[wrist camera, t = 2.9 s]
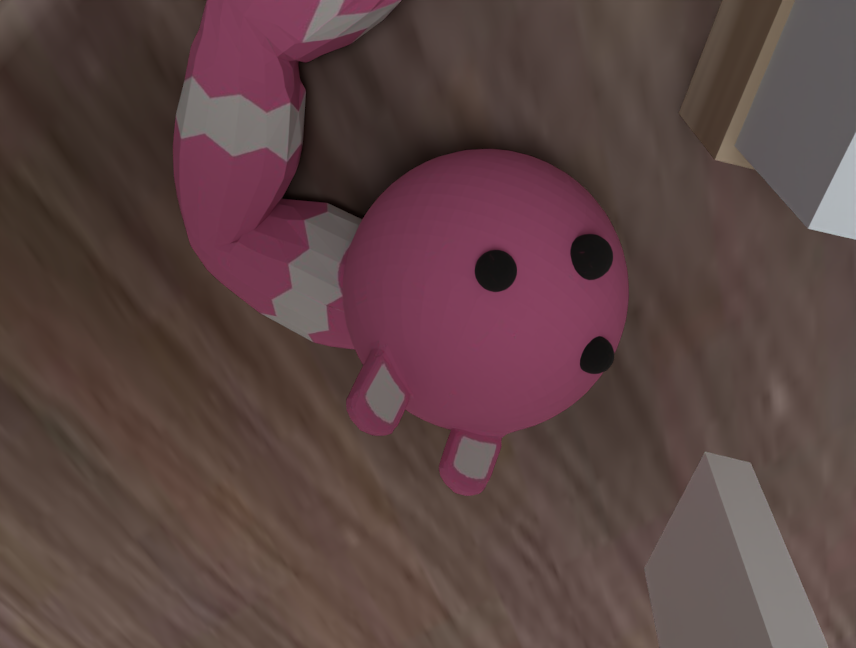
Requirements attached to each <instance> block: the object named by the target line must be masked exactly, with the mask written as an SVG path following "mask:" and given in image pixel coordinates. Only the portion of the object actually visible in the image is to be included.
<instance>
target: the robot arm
mask: <svg viewBox="0 0 856 648" xmlns="http://www.w3.org/2000/svg"><path fill="white" fill-rule="evenodd" d="M644 570H645V575H646V581H647V586H648V591H649V596H650V601H651V606H652V612H653V617H654V622H655V627H656V632H657V637H658V643H659V648H829V647H828V645H827V642H826V640H825V638H824V635H823V633H822V631H821V628H820V626H819V624H818V621H817V619H816V616H815V614H814V612H813V609H812V607H811V605H810V602H809V600H808V597H807V595H806V593H805V590H804V588H803V586H802V583H801V581H800V579H799V576H798V574H797V571H796V569H795V567H794V564H793V562H792V560H791V557H790V555H789V553H788V550H787V548H786V545H785V543H784V541H783V538H782V536H781V534H780V531H779V529H778V526H777V524H776V522H775V519H774V517H773V515H772V512H771V510H770V508H769V505H768V503H767V500H766V498H765V496H764V493H763V491H762V489H761V486H760V484H759V481H758V479H757V477H756V474H755V472H754V470H753V467H752V465H751V463H750V462H746V461H742V460H737V459H733V458H729V457H725V456H721V455H717V454H713V453H709V452H704V454H703V456H702V458H701V460H700V462H699V464H698V466H697V468H696V470H695V472H694V474H693V475H692V477H691V479H690V481H689V483H688V485H687V487H686V489H685V491H684V493H683V495H682V497H681V498H680V500H679V502H678V504H677V506H676V508H675V510H674V512H673V514H672V516H671V518H670V520H669V522H668V523H667V525H666V527H665V529H664V531H663V533H662V535H661V537H660V539H659V541H658V543H657V545H656V546H655V548H654V550H653V552H652V554H651V556H650V558H649V560H648V562H647V564H646V566H645V568H644Z"/></svg>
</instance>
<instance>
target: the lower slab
mask: <svg viewBox="0 0 856 648" xmlns="http://www.w3.org/2000/svg"><path fill="white" fill-rule="evenodd" d="M794 2H795V0H722V2H721V5H720V7H719V10H718V13H717V15H716V18H715V20H714V23H713V26H712V28H711V31H710V33H709V36H708V38H707V41H706V44H705V46H704V49H703V51H702V54H701V57H700V59H699V62H698V64H697V67H696V70H695V72H694V75H693V77H692V80H691V82H690V85H689V88H688V90H687V93H686V95H685V98H684V101H683V103H682V106H681V108H680V111H679V114H680V116H681V117H682V118H683V120H684V121H685V122H686V123H687V125H688V126H689V127H690V129H691V130H692V131H693V132H694V134H695V135H696V136H697V138H698V139H699V140H700V141H701V143H702V144H703V145H704V147H705V148H706V149H707V151H708V152H709V153H710V154H711V156H712V157H713V158H714V160H717V161H721V162H725V163H730V164H734V165H738V166H742V167H746V168H750V169H754V167H753V166H752V165H751V164H750V163H749V162H748V161H747V160H746V158H745V157H744V156H743V155H742V154H741V153H740V152H739V151H738V149H737V148H736V147H735V146H734V145H735V143H736V141H737V138H738V136H739V134H740V131H741V129H742V126H743V124H744V122H745V119H746V117H747V114H748V112H749V110H750V107H751V105H752V102H753V100H754V98H755V95H756V93H757V90H758V88H759V86H760V83H761V81H762V78H763V76H764V74H765V71H766V69H767V67H768V64H769V62H770V59H771V57H772V55H773V52H774V50H775V47H776V45H777V43H778V40H779V38H780V35H781V33H782V31H783V28H784V26H785V23H786V21H787V19H788V16H789V14H790V11H791V9H792V7H793V4H794ZM754 170H755V169H754Z"/></svg>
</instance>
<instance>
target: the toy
mask: <svg viewBox="0 0 856 648" xmlns="http://www.w3.org/2000/svg"><path fill="white" fill-rule="evenodd" d="M401 1H402V0H207V1H206V5H205V9H204V12H203V16H202V20H201V24H200V27H199V30H198V32H197V34H196V37H195V39H194V41H193V43H192V45H191V49H190V54H189V59H188V65H187V70H186V75H185V80H184V84H183V88H182V92H181V96H180V100H179V104H178V108H177V112H176V118H175V129H174V139H173V166H174V180H175V186H176V192H177V197H178V202H179V206H180V210H181V214H182V217H183V221H184V225H185V228H186V232H187V235H188V239H189V242H190V245H191V247H192V248H193V250H194V251H195V253H196V254H197V256H198V257H199V259H200V260H201V262H202V263H203V264H204V266H205V267H206V269H207V270H208V271H209V272H210V273H211V274H212V275H213V276H214V277H215V278H217V279H218V280H219V281H220V282H221V283H222V284H223V285H224V286H226V287H227V288H228V289H230V290H231V291H232V292H233V293H235V294H236V295H237V296H238V297H240V298H241V299H242V300H244V301H245V302H246V303H247V304H249V305H250V306H251V307H253V308H254V309H255V310H257V311H258V312H259V313H261V314H262V315H264V316H266V317H268V318H270V319H272V320H274V321H275V322H277V323H279V324H281V325H283V326H285V327H286V328H288V329H290V330H292V331H294V332H296V333H297V334H299V335H301V336H303V337H305V338H307V339H308V340H310V341H312V342H314V343H319V344H323V345H327V346H331V347H339V348H347V349H355V350H356V353H357V355H358V357H359V359H360V361H361V362H362V364H363V367H362V369H361V371H360V373H359V375H358V377H357V379H356V381H355V383H354V385H353V387H352V389H351V391H350V393H349V395H348V397H347V399H346V405H347V412H348V414H349V416H350V419H351V420H352V421H353V422H354V423H355V424H356V426H357V427H358V428H359V429H360V430H361V431H363V432H366V433H368V434H370V435H376V436H384V435H388V434H391V433H392V432H393V431H394V429H395V427H397V426H398V424H399V422H400V419H401V417H402V415H403V413H404V411H405V410H407V411H408V412H410V413H411V414H413V415H415V416H417V417H419V418H421V419H422V420H424V421H427V422H429V423H432V424H434V425H437V426H439V427H443V428H446V429H449V430H451V432H450V435H449V437H448V440H447V443H446V446H445V449H444V452H443V455H442V458H441V461H440V464H439V471H440V476H441V478H442V479H443V481H444V483H445V484H446V485H447V486H448V487H449V488H450V489H451V490H453V491H454V492H455V493H457V494H461V495H465V496H470V495H475V494H480V493H481V492H482V491H483V490H484V489H485V487H486V484H487V483H488V481H489V479H490V478H491V475H492V472H493V469H494V466H495V463H496V461H497V458H498V455H499V452H500V449H501V440H502V437H503V436H505V435H506V434H508V433H511V432H515V431H518V430H521V429H525V428H528V427H532V426H535V425H537V424H539V423H542V422H544V421H546V420H549V419H551V418H552V417H554V416H556V415H557V414H559V413H561V412H563V411H564V410H566V409H567V408H569V407H570V406H571V405H573V404H574V403H575V402H576V401H578V400H579V399H580V398H581V397H582V396H583V395H584V394H585V393H586V392H588V390H589V389H590V388H591V387H592V386H593V385H594V384H595V382H596V381H597V380H598V379H599V378H600V376H601V375H602V373H603V372H604V371H606V370H607V369H608V368H609V367H610V366H611V365H612V363H613V360H614V353H615V351H616V349H617V347H618V344H619V341H620V339H621V336H622V333H623V329H624V325H625V321H626V316H627V308H628V300H629V283H628V273H627V266H626V261H625V257H624V253H623V249H622V246H621V243H620V241H619V238H618V236H617V234H616V232H615V230H614V228H613V226H612V224H611V222H610V220H609V218H608V216H607V215H606V213H605V211H604V210H603V209H602V208H601V206H600V205H599V204H598V203H597V201H596V200H595V199H594V197H593V196H592V195H591V194H590V193H589V192H588V191H587V190H586V189H585V188H584V187H583V186H582V185H581V184H579V183H578V182H577V181H576V180H575V179H573V178H572V177H571V176H569V175H568V174H567V173H565V172H563V171H561V170H560V169H558V168H556V167H554V166H553V165H551V164H549V163H547V162H545V161H542V160H540V159H537V158H535V157H532V156H529V155H525V154H521V153H517V152H513V151H508V150H499V149H475V150H463V151H459V152H455V153H451V154H447V155H443V156H439V157H437V158H434V159H432V160H429V161H427V162H425V163H423V164H421V165H419V166H417V167H415V168H414V169H412V170H410V171H408V172H407V173H406V174H404V175H403V176H401V177H400V178H399V179H397V180H396V181H395V182H393V183H392V184H391V185H390V186H389V187H388V188H387V189H386V190H385V191H384V192H383V193H382V194H381V195H380V196H379V197H378V198H377V200H376V201H375V202H374V203H373V204H372V206H371V207H370V209H369V210H368V211H367V213H366V215H365V216H364V218H363V219H360V218H358V217H356V216H354V215H352V214H349V213H347V212H345V211H343V210H341V209H339V208H337V207H335V206H333V205H330V204H328V203H322V202H311V201H301V200H290V199H281V198H282V197H283V195H284V194H285V192H286V190H287V188H288V186H289V184H290V182H291V180H292V178H293V177H294V175H295V173H296V170H297V167H298V165H299V160H300V156H301V151H302V147H303V133H304V116H305V99H306V90H305V88H304V86H303V84H302V82H301V80H300V76H299V67H298V63H299V61H301V62H305V63H306V62H309V61H311V60H313V59H315V58H317V57H319V56H321V55H323V54H326V53H329V52H331V51H334V50H336V49H339V48H342V47H344V46H347V45H350V44H352V43H353V42H354V41H356V40H357V39H358V38H360V37H361V36H362V35H364V34H365V33H366V32H368V31H369V30H370V29H372V28H373V27H374V26H376V25H377V24H378V23H380V22H381V21H383V20H384V19H385V18H386V17H387V16H388V14H389V13H390V12H391V11H392V10H393V9H394V8H395V7H396V6H397V5H398V4H399V3H400V2H401Z"/></svg>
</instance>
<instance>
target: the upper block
mask: <svg viewBox="0 0 856 648" xmlns="http://www.w3.org/2000/svg"><path fill="white" fill-rule="evenodd" d="M734 146H735V147H736V148H737V149H738V151H739V152H740V153H741V154H742V155H743V156H744V157H745V158H746V160H747V161H748V162H749V163H750V164H751V165H752V166H753V167H754V169H755V170H756V171H757V172H758V173H759V174H760V175H761V176H762V178H763V179H764V180H765V181H766V182H767V183H768V184H769V185H770V187H771V188H772V189H773V190H774V191H775V192H776V193H777V194H778V196H779V197H780V198H781V199H782V200H783V201H784V202H785V203H786V205H787V206H788V207H789V208H790V209H791V210H792V211H793V212H794V214H795V215H796V216H797V217H798V218H799V219H800V220H801V221H802V223H803V224H804V225H805V226H806V227H807V228H808V229H812V230H816V231H820V232H825V233H829V234H833V235H838V236H842V237H847V238H851V239H855V240H856V0H795V2H794V4H793V7H792V9H791V11H790V14H789V16H788V19H787V21H786V23H785V26H784V28H783V31H782V33H781V35H780V38H779V40H778V43H777V45H776V47H775V50H774V52H773V55H772V57H771V59H770V62H769V64H768V67H767V69H766V71H765V74H764V76H763V78H762V81H761V83H760V86H759V88H758V90H757V93H756V95H755V98H754V100H753V102H752V105H751V107H750V110H749V112H748V114H747V117H746V119H745V122H744V124H743V126H742V129H741V131H740V134H739V136H738V138H737V141H736V143H735V145H734Z"/></svg>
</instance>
